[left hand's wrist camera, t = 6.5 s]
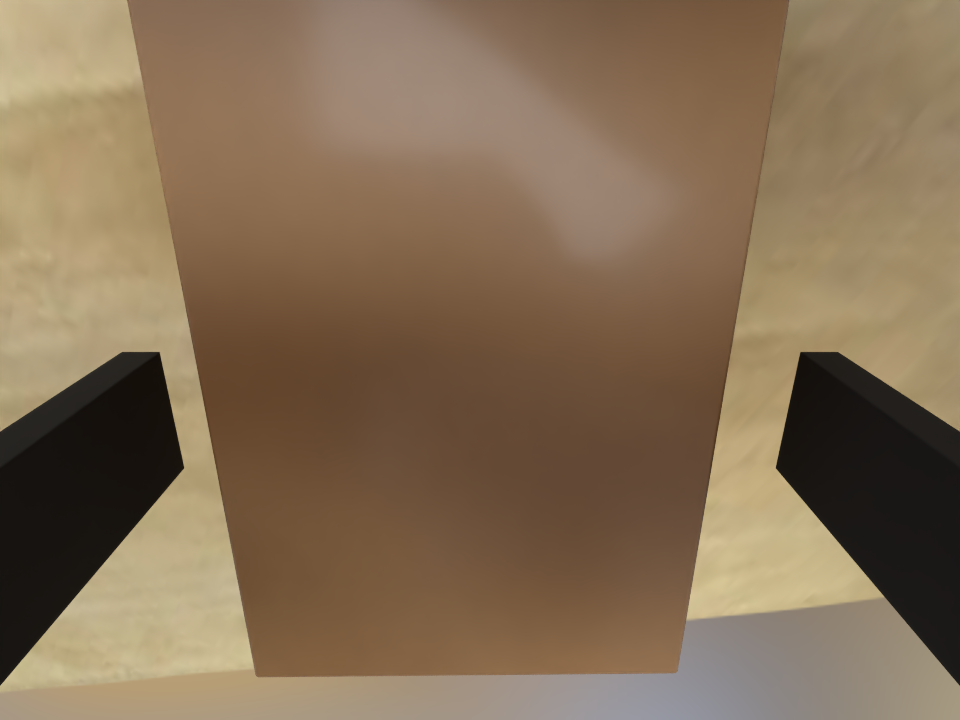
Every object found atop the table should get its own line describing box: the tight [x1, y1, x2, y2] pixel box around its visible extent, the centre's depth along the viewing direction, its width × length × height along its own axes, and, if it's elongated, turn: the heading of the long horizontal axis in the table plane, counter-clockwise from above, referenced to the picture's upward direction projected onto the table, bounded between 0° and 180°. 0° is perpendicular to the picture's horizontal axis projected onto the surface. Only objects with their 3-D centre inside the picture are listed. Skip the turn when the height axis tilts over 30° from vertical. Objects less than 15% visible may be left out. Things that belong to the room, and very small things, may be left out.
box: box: [127, 0, 789, 677], centre depth 12 cm, size 22×8×12 cm, turn 0°
